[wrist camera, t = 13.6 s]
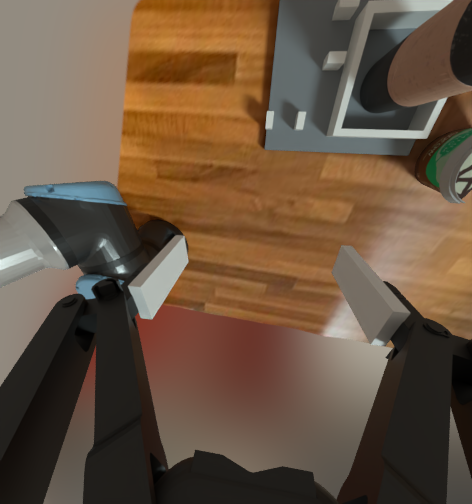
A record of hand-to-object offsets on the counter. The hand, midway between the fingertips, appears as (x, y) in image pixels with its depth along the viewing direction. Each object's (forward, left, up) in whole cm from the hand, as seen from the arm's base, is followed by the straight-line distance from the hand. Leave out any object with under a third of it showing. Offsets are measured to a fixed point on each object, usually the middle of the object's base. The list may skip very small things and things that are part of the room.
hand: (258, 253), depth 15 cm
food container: (+30, +8, -30) cm, 43 cm away
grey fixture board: (+12, +17, -30) cm, 36 cm away
